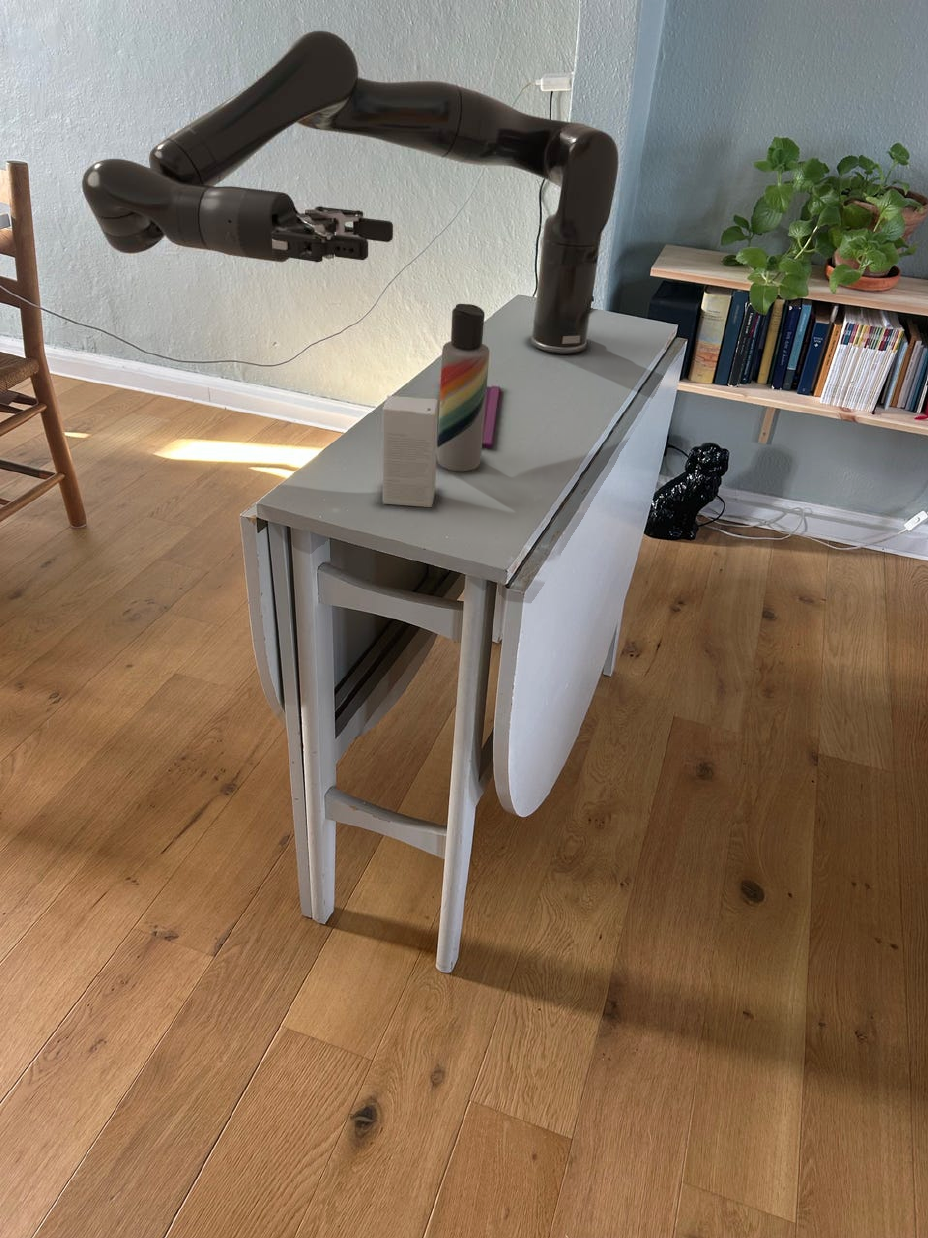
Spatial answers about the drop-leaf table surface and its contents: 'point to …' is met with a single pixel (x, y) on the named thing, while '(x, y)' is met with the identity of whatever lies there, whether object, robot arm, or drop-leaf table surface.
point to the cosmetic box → (409, 450)
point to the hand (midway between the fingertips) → (380, 240)
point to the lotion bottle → (463, 391)
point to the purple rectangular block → (489, 416)
